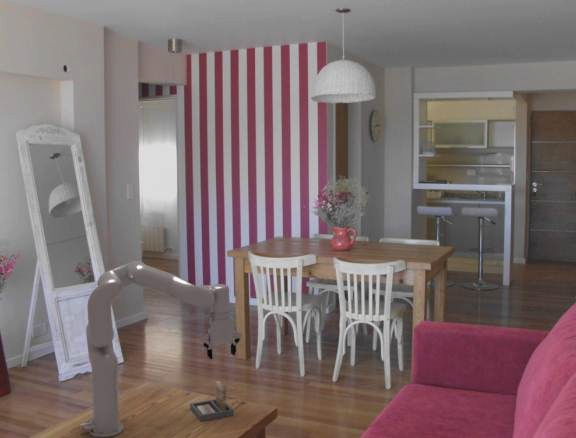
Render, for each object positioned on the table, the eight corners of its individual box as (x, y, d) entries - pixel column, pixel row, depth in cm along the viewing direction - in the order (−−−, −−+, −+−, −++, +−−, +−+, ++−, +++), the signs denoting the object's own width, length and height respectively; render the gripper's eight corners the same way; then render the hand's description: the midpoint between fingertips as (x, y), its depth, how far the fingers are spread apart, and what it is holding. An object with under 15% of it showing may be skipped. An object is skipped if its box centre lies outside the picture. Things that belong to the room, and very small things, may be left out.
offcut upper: (203, 419, 259) (203, 415, 259) (196, 409, 268) (196, 406, 268) (216, 416, 261) (215, 413, 261) (208, 407, 270) (208, 404, 270)
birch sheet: (221, 415, 264) (221, 387, 263) (216, 409, 270) (215, 381, 269) (226, 415, 265) (226, 386, 264) (220, 408, 271) (220, 380, 270)
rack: (200, 423, 257) (200, 416, 256) (190, 410, 269) (190, 403, 269) (233, 417, 262) (233, 410, 262) (221, 405, 275) (221, 398, 275)
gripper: (202, 320, 256) (204, 362, 258) (243, 314, 264) (245, 355, 266) (197, 315, 263) (198, 357, 265) (237, 310, 270) (238, 350, 272)
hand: (221, 356), depth 265 cm, fingers open, 9 cm apart
